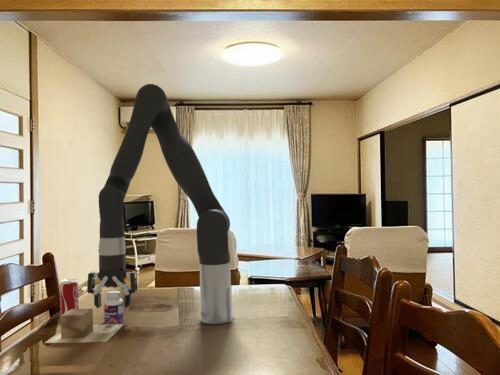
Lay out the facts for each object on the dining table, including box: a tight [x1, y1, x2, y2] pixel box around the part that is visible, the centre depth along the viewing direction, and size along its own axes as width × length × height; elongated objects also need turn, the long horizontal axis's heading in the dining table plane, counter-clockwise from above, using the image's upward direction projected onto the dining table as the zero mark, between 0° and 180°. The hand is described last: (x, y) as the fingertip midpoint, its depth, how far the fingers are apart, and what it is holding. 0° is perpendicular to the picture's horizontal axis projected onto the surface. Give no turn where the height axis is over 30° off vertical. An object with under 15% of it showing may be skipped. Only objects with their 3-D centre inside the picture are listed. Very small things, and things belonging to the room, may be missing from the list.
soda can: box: [59, 278, 80, 316], centre depth 130 cm, size 5×5×12 cm
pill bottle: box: [103, 290, 125, 324], centre depth 122 cm, size 5×5×10 cm
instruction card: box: [93, 323, 121, 333], centre depth 115 cm, size 5×7×1 cm
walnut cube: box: [60, 308, 94, 339], centre depth 111 cm, size 6×6×6 cm
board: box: [44, 323, 125, 344], centre depth 112 cm, size 16×14×1 cm
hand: (112, 307), depth 122 cm, fingers open, 8 cm apart
